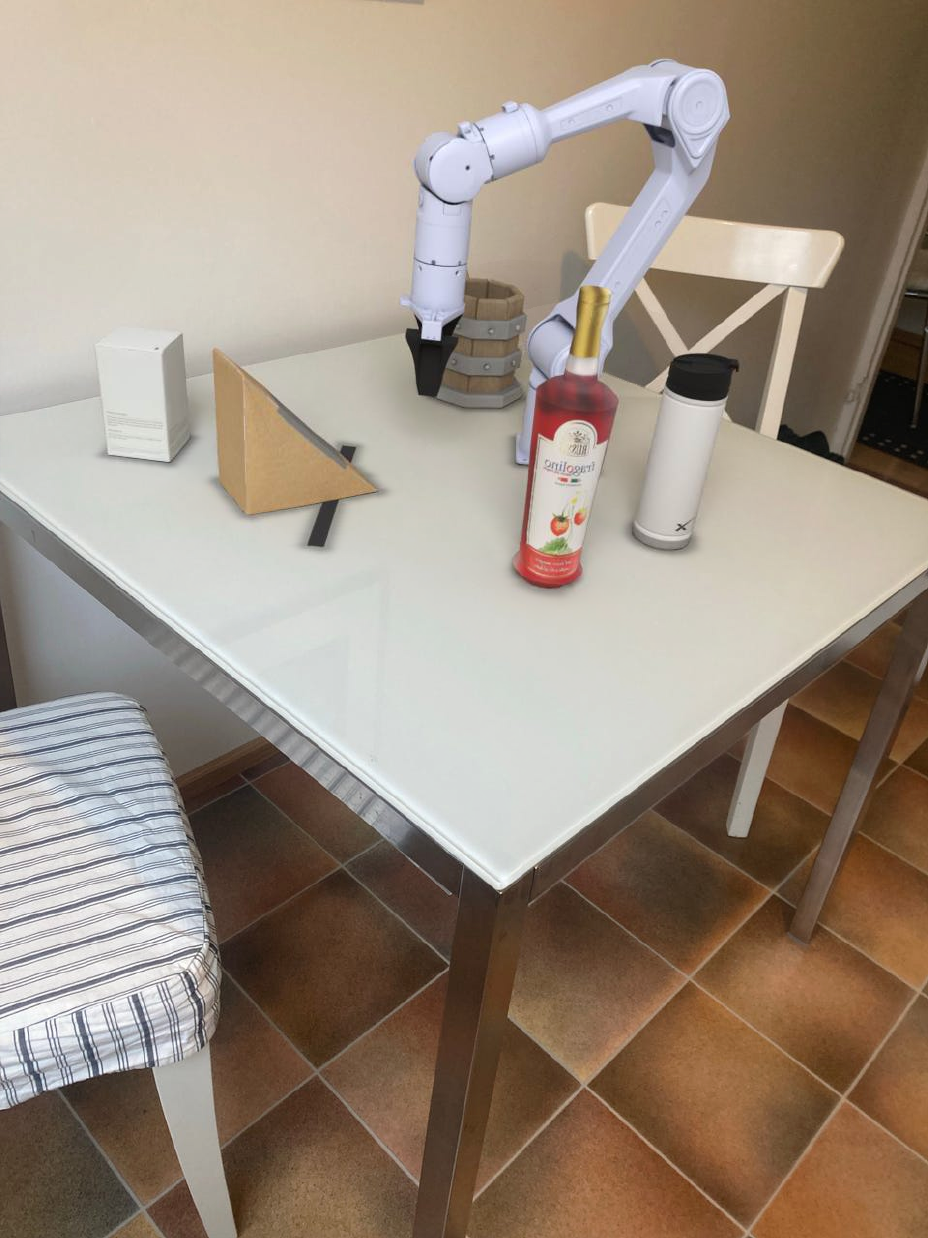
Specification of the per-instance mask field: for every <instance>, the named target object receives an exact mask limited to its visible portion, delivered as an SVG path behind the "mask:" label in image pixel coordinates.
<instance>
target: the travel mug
mask: <svg viewBox="0 0 928 1238" xmlns="http://www.w3.org/2000/svg"><path fill="white" fill-rule="evenodd" d="M734 371H735V373H739V371H740V362H739V360H738V359H735V358H728V357H726V356H724V355H719V354H714V353H706V352H705V353H703V352H694V353H693V352H692V353H685V354H679V355H677V356H675V357H674V358H673V359H672V360H671V361H670V362H669V367H668V371H667V377H666V381H665V383H664V387H663V388H664V389H663V391H662V396H661V400H660V403H659V408H658V413H657V418H656V422H655V427H654V431H653V436H652V440H651V445H650V450H649V452H648V458H647V462H646V467H645V471H644V475H643V480H642V483H641V487H640V493H639V498H638V502H637V505H636V506H637V507H636V511H635V515H634V520H633V524H632V529H631V530H632V534H633V536H634V537H635V538H636V540H638V541H639V542H640V543H643V544H644V545H647V546H649V547H651V548H654V549H658V550H663V551H664V550H667V551H668V550H669V551H672V550H673V551H674V550H675V551H676V550H679V549H682V548H684V547H686V546H688V545H689V543H690V542H691V538H692V534H693V530H694V526H695V522H696V518H697V515H698V511H699V508H700V503H701V500H702V495H703V492H704V488H705V484H706V480H707V477H708V473H709V470H710V465H711V461H712V457H713V454H714V451H715V447H716V443H717V438H718V435H719V431H720V427H721V423H722V419H723V416H724V412H725V408H726V405H727V401H728V397H729V391H730V387H731V385H732V376H733V373H734Z"/></svg>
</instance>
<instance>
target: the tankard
mask: <svg viewBox="0 0 928 1238" xmlns="http://www.w3.org/2000/svg"><path fill="white" fill-rule="evenodd" d="M463 302H464V303H465V310H464V312H463V314H462V317H461V319H460V320H459V322H458V324H457V325H456V327H455V330H454V332H453V334H452V336H454V337H459V340H458V344H457V346H456V347H455V349H454V351H453V352H452V354H451V356H450V357H449V360H448V362H447V364H446V367H445V370H444V374H443V378H442V382H441V386H440V389H439V392H438V395H437V397H433V398H434V399H437V400H440V401H443V402H445V403H449V404H452V405H455V406H458V407H461V408H464V409H503V408H504V407H506V406H507V405H510V404H511V403H513V402H515V401H517V400H519V399H520V398H522V394H523V390H524V389H523V386H522V385H521V383H520V382H519V381H518V379H517V377H516V376H515V371H516V370H518V369H519V368H521V363H522V357H523V356H522V355H523V351H522V350H521V349H520V347H519V341H520V335H521V334H523V333H525V332H526V326H527V320H528V319H527V318H528V315H527V314H526V312H525V311H524V304H525V295H524V294H523V293H522V291H521V290H520V289H519V288H518V287H517V286H515V285H514V284H510V283H506V282H502V281H499V280H497V279H496V280H495V279H492V278H491V279H490V280H489V278H477V277H470V275H469V271H468V270H467V271H466V281H465V291H464V301H463Z"/></svg>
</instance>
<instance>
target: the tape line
mask: <svg viewBox="0 0 928 1238" xmlns="http://www.w3.org/2000/svg"><path fill="white" fill-rule="evenodd" d="M356 449H357V446H353V445H342V446H341V449H340V451H339V452H340V453H341V454H342V455H343V456H344V457H345V458H346V459H347V460H348V461H349V462H350V463H351V464H352V461H353V458H354V454H355V452H356ZM339 500H340V499H335V500H330V501H325V502H321V505H320V508H319V510H318V513H317V516H316V519H315V522H314V525H313V528H312V531H311V533H310V536H309V539H308V541H307V546H309V547H318V548H324V547H325V544H326V540H327V538H328V535H329V531H330V529H331V526H332V522H333V519H334V515H335V512H336V509H337V507H338V504H339Z"/></svg>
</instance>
